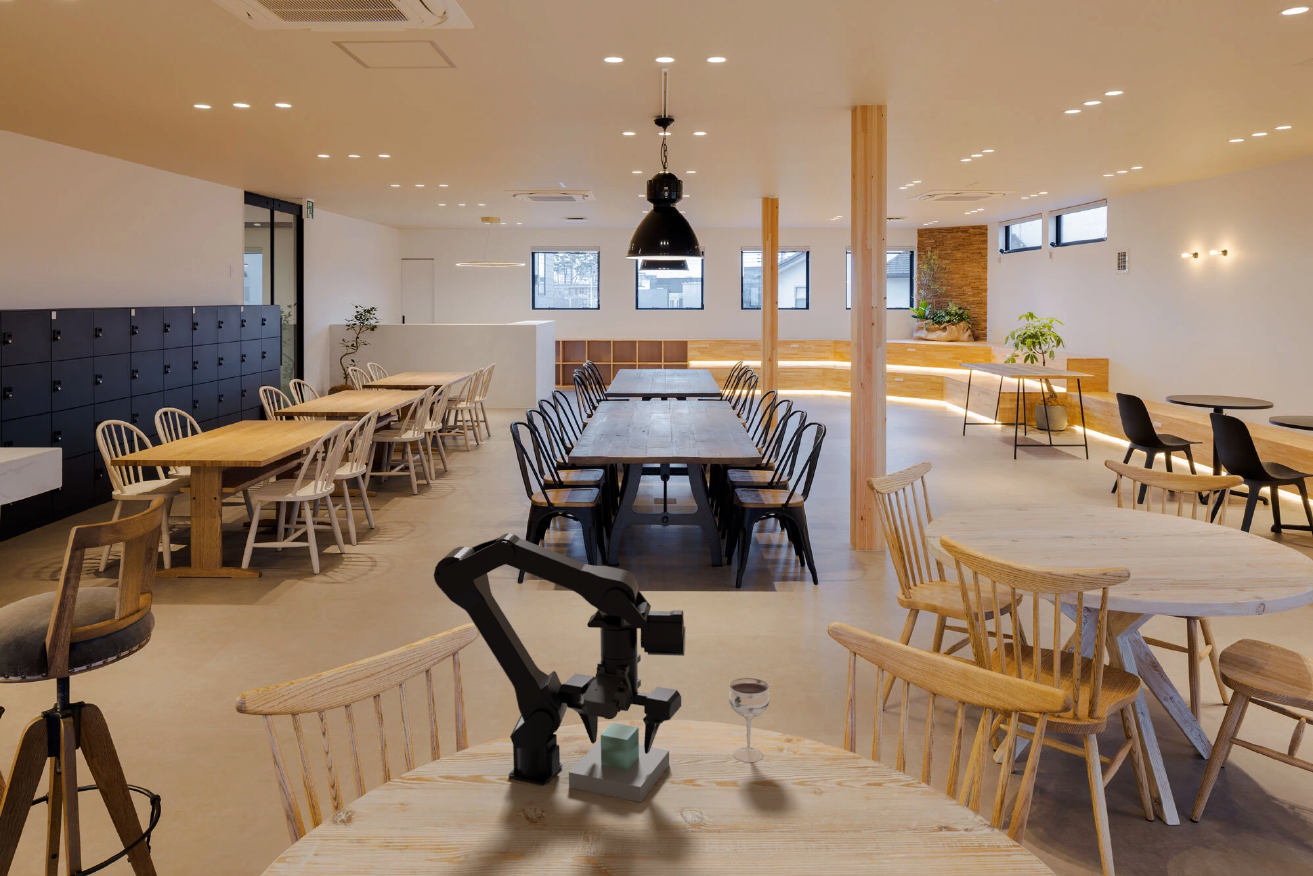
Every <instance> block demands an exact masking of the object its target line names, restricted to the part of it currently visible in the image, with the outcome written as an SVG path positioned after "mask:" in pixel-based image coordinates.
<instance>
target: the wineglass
mask: <svg viewBox="0 0 1313 876" xmlns="http://www.w3.org/2000/svg"><path fill="white" fill-rule="evenodd" d="M728 688H729V693H728V696H727V697H728V703H729V704H730V707H731V709H732V710H733V711H734V712H735V713H736V715H738V716H741V717H743V718H744V719H745V720H746V744H747V747H746V746H745V748H744V747H740V749H739V748H738V749H735V750H734V751H733V757H734V758H736V759H737V760H738V761H741V762H744V763H745V762H747V763H755V762H758V761H759V762H760V761H761V760H762V759H763V758H764V753H763V752H762V751H761V750H760V749H758V748H756V747H751V733H752V732H751V730H752V720H753V719H754V718H756V717H758V716H761V715H762V714H763V713H764V712H765V711H766V710H767V709H768V707H769V704H770V701H771V700H770V699H771V697H770V693H769V689H770V685H769V683H768V682H767V681H765V680H763V679H761V678H755V677H740V678H736V679H733V680H731V681H730V682H729V684H728Z"/></svg>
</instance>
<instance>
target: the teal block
mask: <svg viewBox="0 0 1313 876" xmlns="http://www.w3.org/2000/svg"><path fill="white" fill-rule="evenodd" d="M639 729H640V728H639V727H638V726H632V725H627V724H623V723H622V724H621V723H617V722H616V723H615V722H612V723H611V724H610V725H609V726H608V727H607V728H606V729H605V730H604V731H603V732H602V733H601V734H600V739H601V765H604V766H609V767H613V768H618V769H623V770H628V769H629V768H630V767H631V766H632V764H633V763H634V762H635V761H636V760H637V759H638V757H639V745H640V743H639V741H640V737H639V735H640V734H639V733H640V732H639V731H640V730H639Z"/></svg>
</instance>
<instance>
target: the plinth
mask: <svg viewBox="0 0 1313 876" xmlns="http://www.w3.org/2000/svg"><path fill="white" fill-rule="evenodd" d="M669 766H670V750H669V749H663V748H658V747H653V746H651V749H650V751H649V752H648V754H645V749H644V744H639V757H638V759H637V760H636V761H635V762H634V763H633V764H632V766H631V767H630V768H629V769H628V770H623V769H618V768H613V767H609V766H604V765H601V738H600V739H599V740H598V741H596V742H595V743H594V745H593V747H591V748H590V749H589V750H588V752H587V753H585V755H584V756H583V757H581V759H580V760H579V761H578V762H577V763H576V764H575V765H574V766H573V767H572V768H571V769H570V770H569V771H568V787H569V788H571V789H575V790H581V791H585V792H590V793H595V794H599V795H604V796H608V797H613V798H619V799H623V800H627V801H632V802H637V803H641V802H642V801H643V800H644V799H645V797H646V796H648V793H649V792H651V789H652V788H653V787H654V786H655V784H657V782H658V780H659V779H660V778H661V777H662V775H663V774H664V772H665V771H666V770H667V769H668V768H669Z"/></svg>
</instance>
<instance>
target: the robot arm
mask: <svg viewBox="0 0 1313 876" xmlns="http://www.w3.org/2000/svg"><path fill="white" fill-rule="evenodd" d="M505 565H506V566H509V567H512V568H515V569H517V570H518V571H522V572H525V573H527V574H529V575H532V576H535V577H537V578H539V579H543V580H545V581H548V582H550V583H552V584H555V585H558V586H559V587H563V588H565V589H568V590H570V591H571V592H572V591H573V592H574V593H576V594H577V595H579V596H580V597H582V598H583V600H584V601H586V602H587V603H588V604H589V605H591V606H592V607H594V608H596V609H597V610H596V612H594V613H593V614H592V615H591V616H590V617H589V619H588V622H587V624H586V626H587V627H588V628H594V629H595V628H596V629H597V628H598V629H600V634H599V635H600V660H599V662H597V665H596V666H597V667H596V673H595V676H594V675H588V674H587V675H586V674H582V673H581V674H580V673H574V674H573V675H572V676H570V677H569V678H568V679H567V680H566V681H564V682H563V683H562V682H561V680H560V678H559V676H558V674H557V672H556V670H553V671H551V673H548V674H547V673H545V672H544V671H542V670H541V669H540V668H539V667H538V666H537V664H536V663H535V661H534V660H533V658H532V657H531V655H530V653H529V652H528V650H527V649H526V647H525V645H524V644H523V642H522V640H521V638H520V637H519V636H518V634H517V633H516V631H515V629H514V628H513V627H512V625H511V623H510V621H509V620H508V618H507V616H506V615H505V613H504V612H503V610H502V609H501V607H500V605H499V604H498V602H497V599H495V598H494V597H495V596H493V594H492V590H491V585H490V581H489V576H488V575H489V574H488V573H490V572H492V571H494V570H495V569H498V568H500V567H502V566H505ZM433 579H434V580H433V581H434V582H435V584H436V586H437V587H438V588H439V590H440V591H441V592H442V593H443V594H444V595H445V596H446V597H447V599H449V601H450V602H452V603H453V604H454V605H456V606H458V607H459V608H461V609H463V610H464V611H465V612H466V613H467V615H468V616H469V618H470V619H471V621H472V623H473V624H474V626H475V627H476V629H477V630H478V632H479V634H480V635H481V637H482V638H483V639H484V642H485V643H486V645H487V646H488V648H489V649H490V651H491V653H492V654H493V656H494V657H495V659H496V661H497V662H498V664H499V666H500V667H501V669H502V671H503V672H504V674H505V675H506V677H507V678H508V680H509V681H510V683H511V685H512V687H513V689H514V692H515V697H516V702H517V703H516V704H517V706H518V710H519V713H520V716H519V718H518V720H517V722H516V724H515V725H514V728H513V730H512V731H511V734H510V736H509V737H510V739H511V743H512V754H513V755H512V756H513V759H512V760H513V769H512V770H511V771H510V772H509V773H508V779H514V780H518V781H523V782H527V783H531V784H537V785H541V786H542V785H543V786H544V785H546V784H547V783H548V781H550V780H551V778H553V777H554V776H555V774H557V773H558V772H559V770H561V768H562V767H563V763H562V762H561V761H560V759H561V758H560V757H561V756H560V754H561V753H560V745H559V744H558V740H557V736H558V735H557V734H556V732H557V731H558V729H559V728H560V726H561V723H562V722H563V719H564V716H565V714H566V712H567V709H572V710H573V711H575V712H576V713H577V714H578V715H579V717H580V719H581V721H582V723H583V725H584V728H585V730H586V733H587V735H588V738H589V741H590V743H591V744H594V745H595V744H596V743H597V740H598V739H597V738H598V732H599V731H598V729H599V728H598V724H599V723H598V722H599V718H603V719H605V720H613V719H615V718H616V717H617V716H618V713H620V712H622V711H624V712H628V711H629V709H630V708H631V706H632V705H636V706H642V707H644V710H643V712H644V714H645V716H644V717H643V718H642V721H643V723H644V725H645V727H644V741H643V743H644V744H643V746H644V749H645V754H648V752H649V751H650V749H651V747H653V743H654V740H655V738H656V735H657V733H658V730H659V728H660V726H661V724H663V723H664V722H665V721H670V720H671V719H672V718H673V717H674V716H675V714H677V712H678V711H679V710H680V708H681V707H682V695H681V694H680V692H679V691H678V689H674V688H668V687H663V686H662V687H661V686H656V687H655V688H654V689H653V690H652V691H651V692H650V693H646V692H640V691H639V688H640V687H641V684H642V679H641V678H639V677H638V672H639V671H638V670H639V669H638V668H639V667H638V664H639V663H640V662H641V659H642V658H641V657H642V656H641V654H639V653H638V629H640V648H641V649H643V651H644V652H643V653H647V655H648V656H675V657H677V656H682V657H683V656H685V653H686V652H685V651H686V626H685V619H684V611H683V610H682V609H681V610H680V609H677V610H676V609H675V610H674V609H673V610H669V611H665V610H663V611H662V610H651V608H652V606H651V603H649V602H648V600H647V598H646V597H645V596H644V595H643V594H642V592H641V591H640V590H639V589H640V588H639V583H638V581H637V578H636V576H635V575H634V574H633V572H631V571H628V570H627V569H626V570H625V569H623V568H616V567H612V566H607V565H592V564H587V563H583V562H582V561H579V560H577V559H575V558H571V557H568V556H566V555H563V554H560V552H559V553H558V552H556V551H553V550H551V549H548V548H545V547H544V546H541V545H537V544H535V543H532V541H529V540H526V539H522V538H521V537H519V536H517V535H516V534H514V533H510V532H509V533H504V534H502V535H501V536H499V537H497V538H494V539H490V540H487V541H484V542H482V543H478V544H477V545H475V546H471V547H468V546H458V547H456V548H455V547H454V548H453V549H452V550H451V551H450V552H449V553H447V555H446V554H445V556H444V557H443V558H441V559H440V561H438V562H437V564H436V566H435V568H434V573H433Z"/></svg>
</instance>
